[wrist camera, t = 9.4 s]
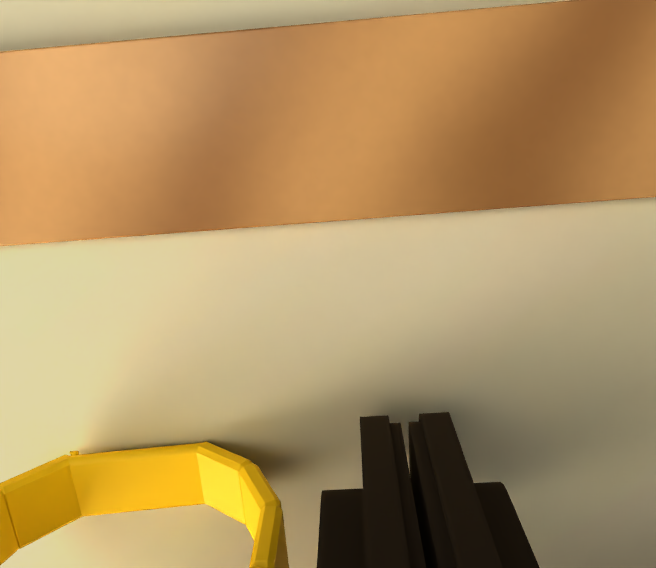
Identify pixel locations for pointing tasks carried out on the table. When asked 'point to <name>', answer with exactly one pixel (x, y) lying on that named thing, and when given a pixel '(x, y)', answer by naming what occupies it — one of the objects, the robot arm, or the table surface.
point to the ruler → (330, 121)
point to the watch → (142, 493)
